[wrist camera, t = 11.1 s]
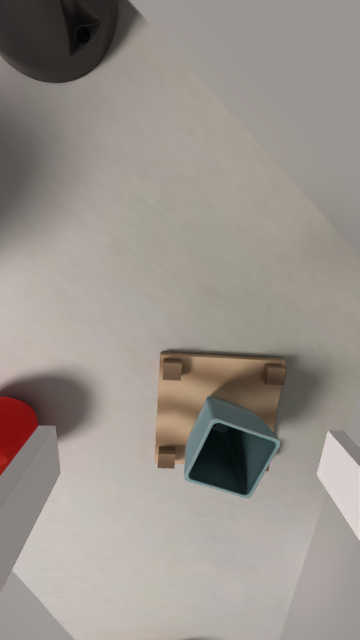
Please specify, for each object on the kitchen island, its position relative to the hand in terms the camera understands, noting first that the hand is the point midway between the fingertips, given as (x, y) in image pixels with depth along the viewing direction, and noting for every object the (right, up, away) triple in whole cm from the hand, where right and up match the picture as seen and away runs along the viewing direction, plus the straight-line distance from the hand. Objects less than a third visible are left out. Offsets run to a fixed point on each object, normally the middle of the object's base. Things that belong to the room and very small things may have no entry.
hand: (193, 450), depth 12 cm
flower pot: (+5, -8, +25) cm, 27 cm away
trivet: (+5, -7, +26) cm, 28 cm away
